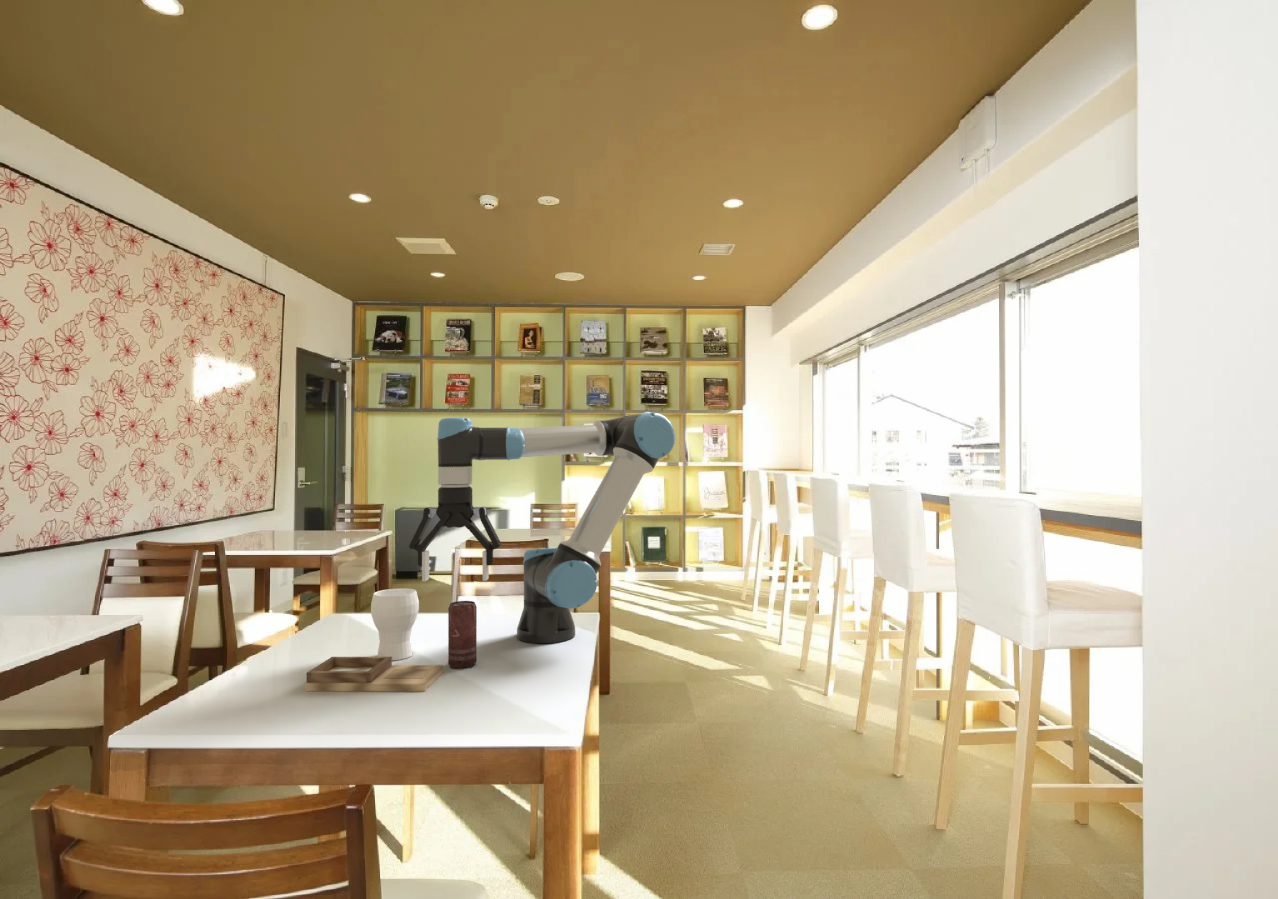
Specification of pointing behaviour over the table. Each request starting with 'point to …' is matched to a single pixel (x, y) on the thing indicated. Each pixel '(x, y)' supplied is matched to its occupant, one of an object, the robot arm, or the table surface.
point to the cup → (395, 621)
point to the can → (462, 634)
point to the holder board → (370, 675)
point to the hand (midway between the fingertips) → (455, 580)
